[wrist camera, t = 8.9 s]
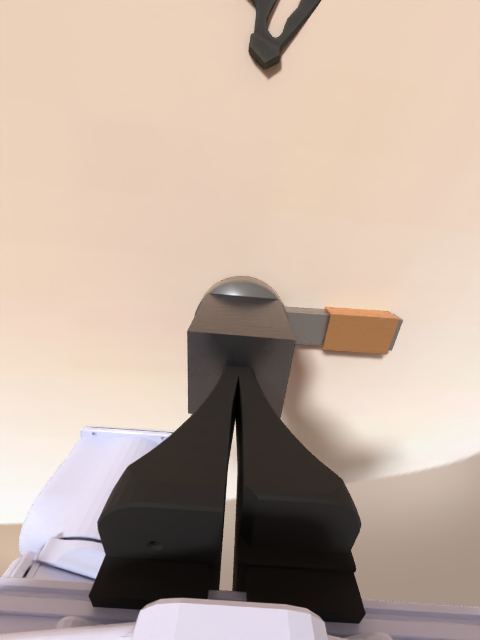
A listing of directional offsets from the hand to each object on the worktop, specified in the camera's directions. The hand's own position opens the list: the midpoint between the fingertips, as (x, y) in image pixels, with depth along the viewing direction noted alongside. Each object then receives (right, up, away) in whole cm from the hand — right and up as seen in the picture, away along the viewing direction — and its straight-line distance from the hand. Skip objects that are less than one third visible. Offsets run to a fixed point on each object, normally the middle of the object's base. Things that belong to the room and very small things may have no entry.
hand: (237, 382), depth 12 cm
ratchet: (+4, +3, +7) cm, 9 cm away
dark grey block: (0, +2, +6) cm, 6 cm away
